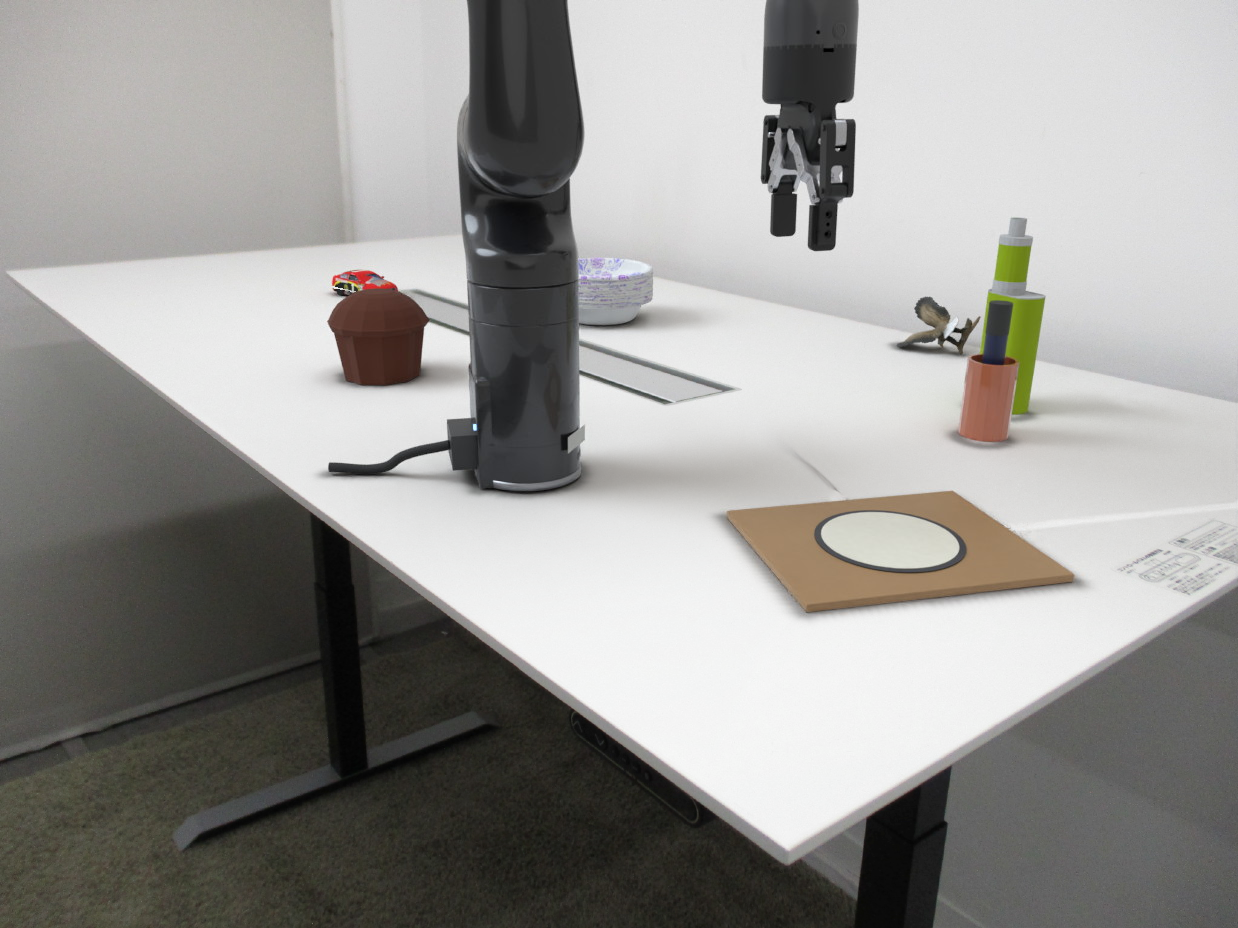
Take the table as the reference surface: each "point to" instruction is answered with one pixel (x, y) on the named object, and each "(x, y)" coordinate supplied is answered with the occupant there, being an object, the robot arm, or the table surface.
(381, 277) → the race car
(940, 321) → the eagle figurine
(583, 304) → the paper bowls
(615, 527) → the table surface
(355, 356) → the muffin
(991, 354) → the marker
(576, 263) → the robot arm
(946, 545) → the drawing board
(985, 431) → the pen pot
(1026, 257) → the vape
